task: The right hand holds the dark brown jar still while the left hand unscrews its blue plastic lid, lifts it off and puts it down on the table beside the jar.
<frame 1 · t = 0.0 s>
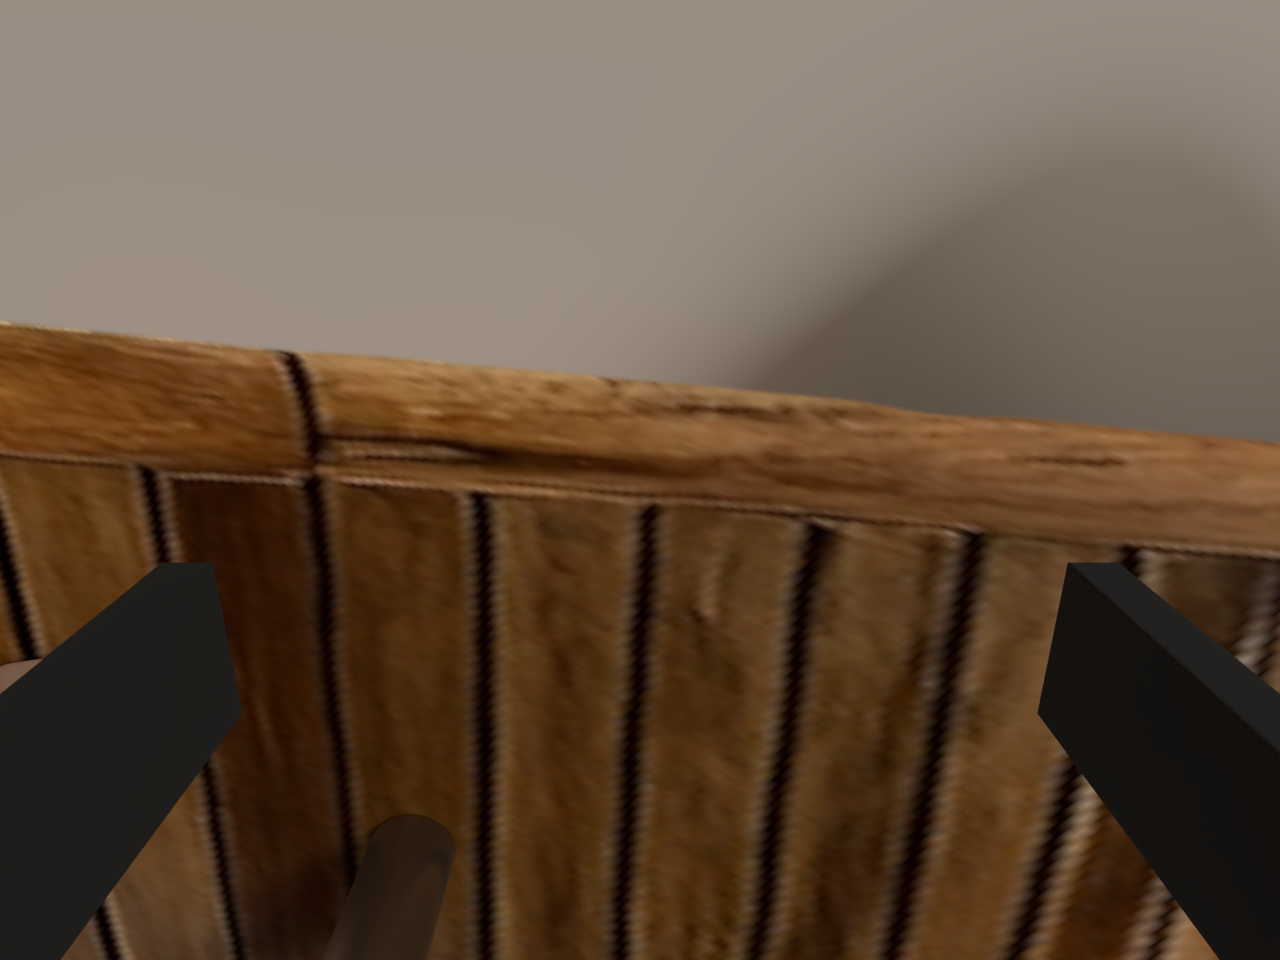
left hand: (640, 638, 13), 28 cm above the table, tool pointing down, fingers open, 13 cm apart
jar: (413, 848, 50), on the table
anatomical model: (59, 745, 47), on the table
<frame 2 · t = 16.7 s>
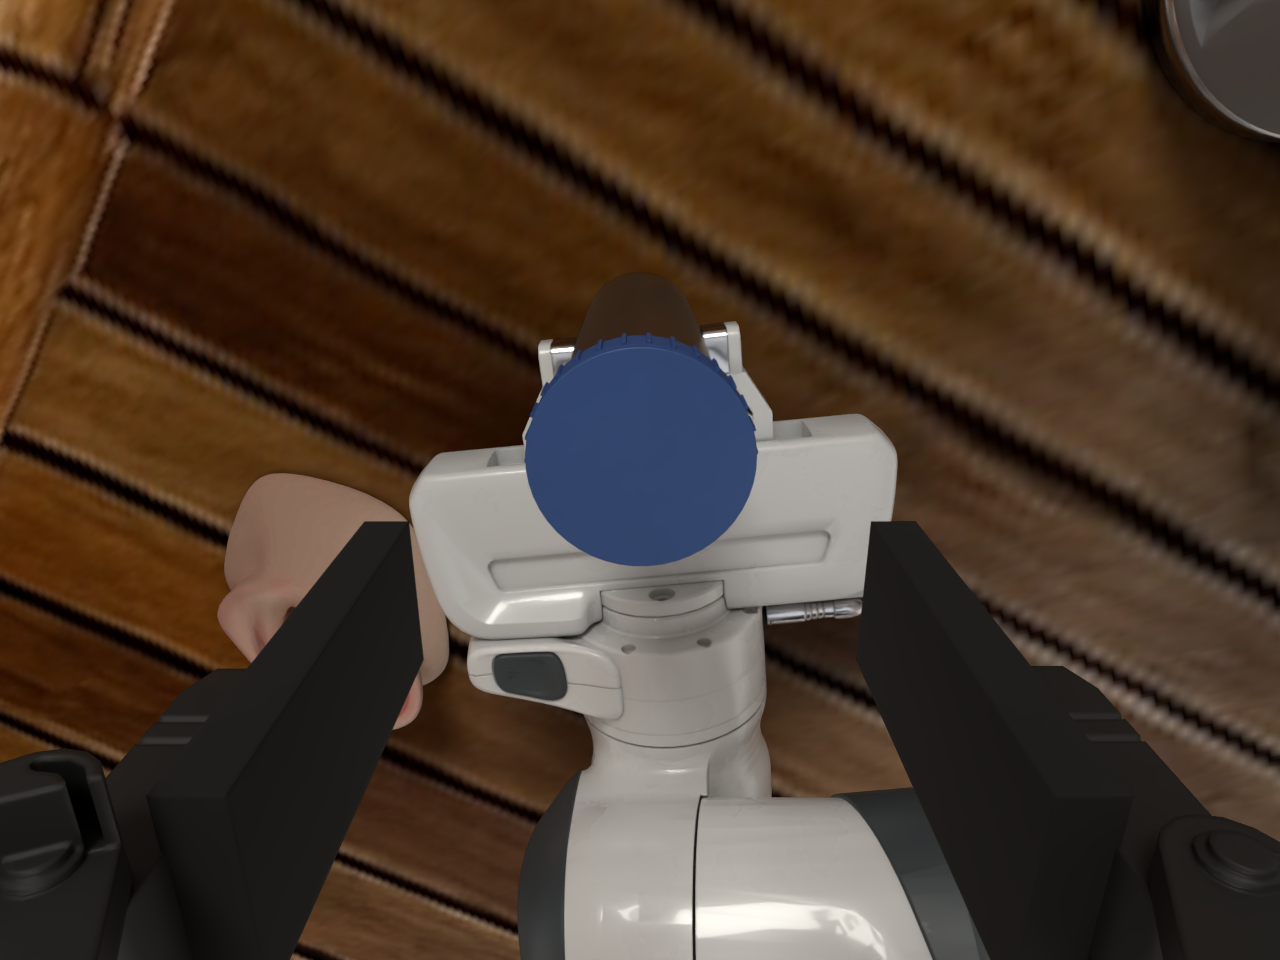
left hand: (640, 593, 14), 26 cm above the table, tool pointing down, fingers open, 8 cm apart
right hand: (636, 332, 33), fingers closed on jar, 5 cm apart
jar: (640, 328, 39), on the table, touching right hand
lid: (641, 457, 21), point 19 cm above the table, screwed on, not yet turned
anatomical model: (339, 588, 44), on the table
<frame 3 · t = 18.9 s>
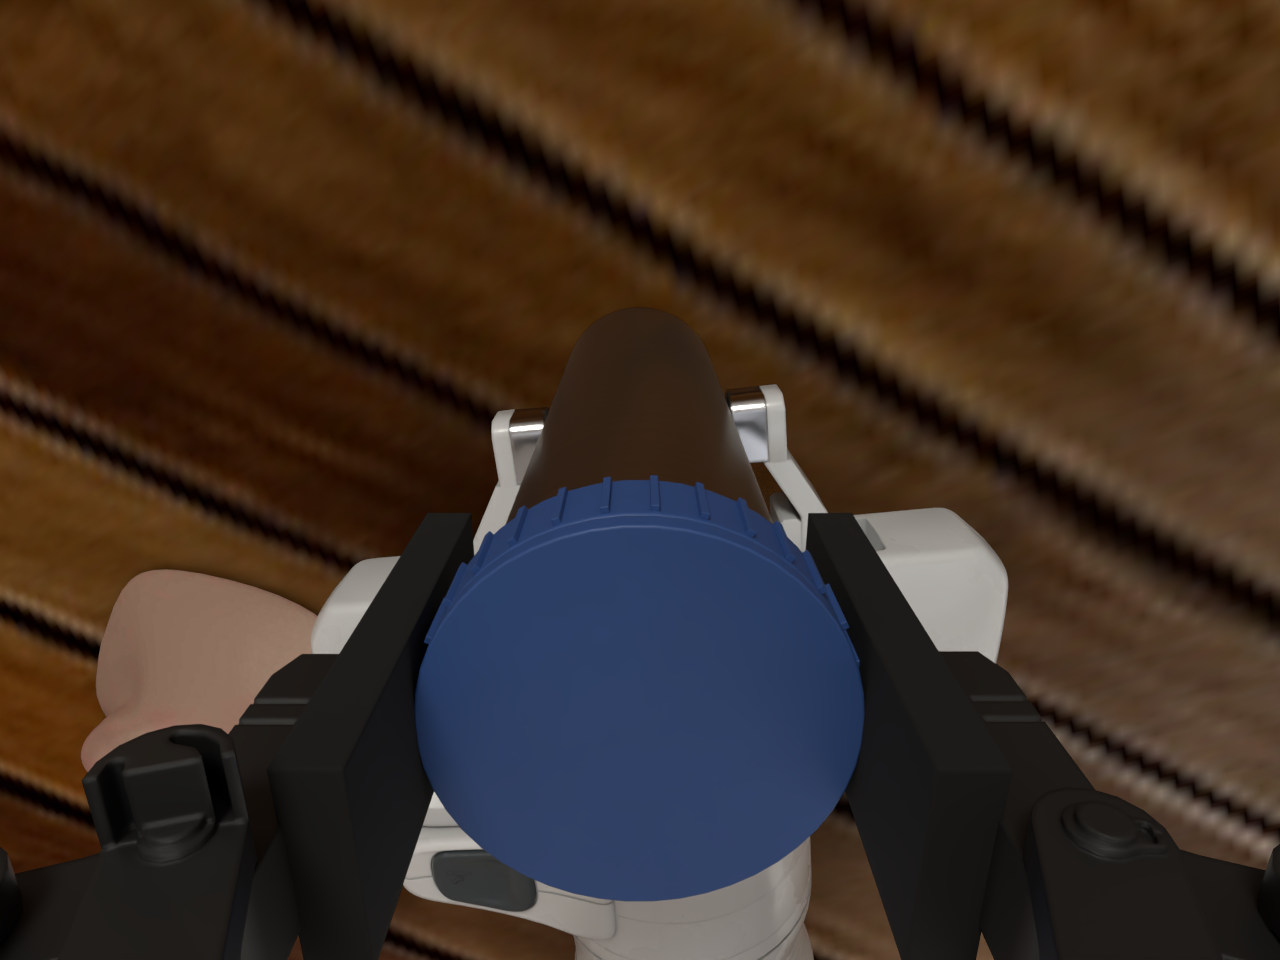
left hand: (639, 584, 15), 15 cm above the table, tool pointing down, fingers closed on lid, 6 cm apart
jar: (639, 381, 29), on the table, touching right hand
lid: (639, 715, 11), point 19 cm above the table, screwed on, not yet turned, touching left hand
anatomical model: (248, 711, 34), on the table
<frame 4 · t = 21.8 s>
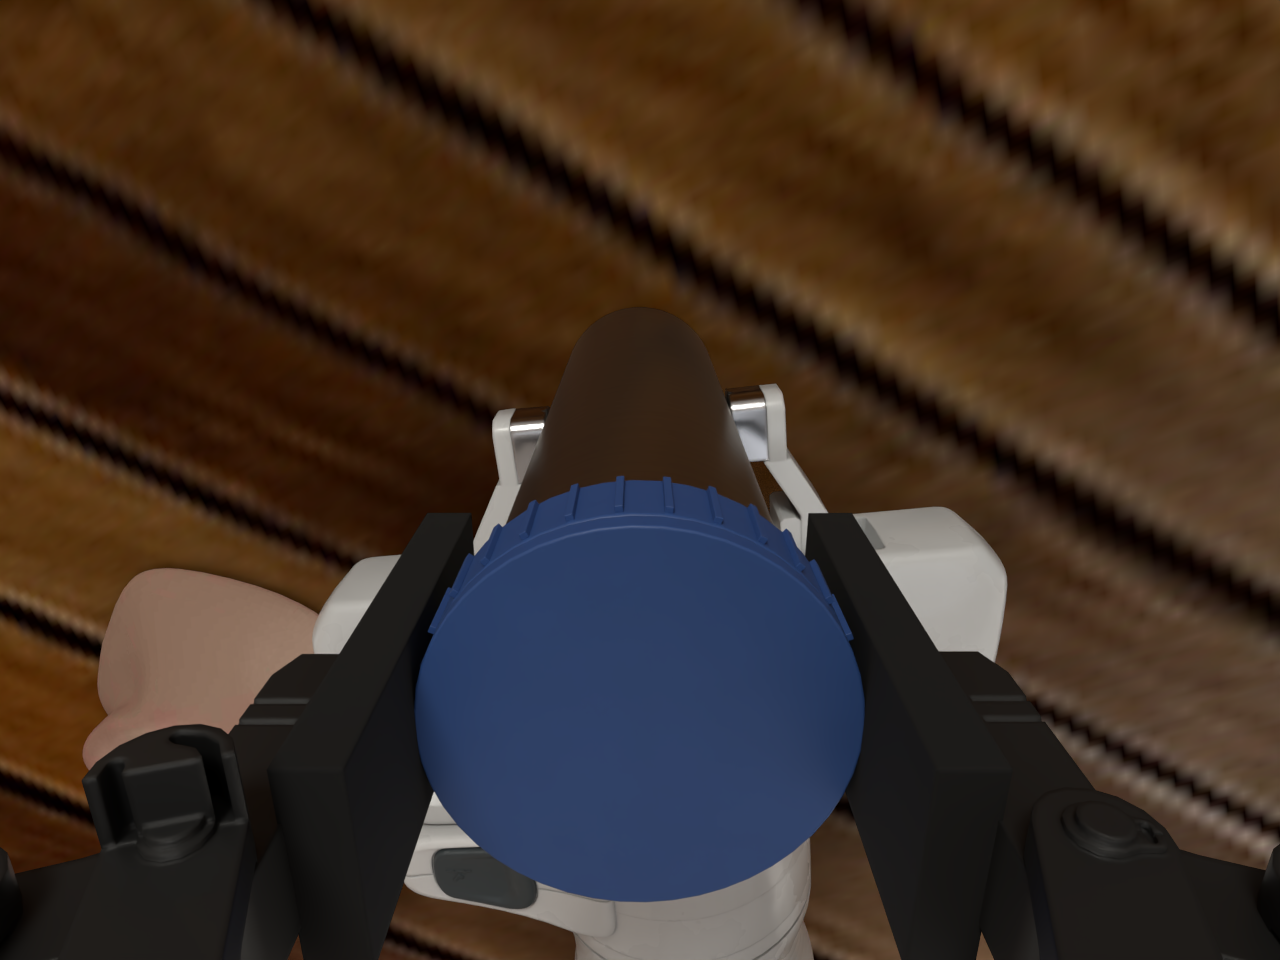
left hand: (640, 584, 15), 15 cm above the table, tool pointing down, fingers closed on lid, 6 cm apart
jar: (639, 380, 29), on the table, touching right hand
lid: (639, 716, 11), point 19 cm above the table, turned 81° so far, risen 0.1 cm, still on its thread, touching left hand
anatomical model: (249, 710, 34), on the table
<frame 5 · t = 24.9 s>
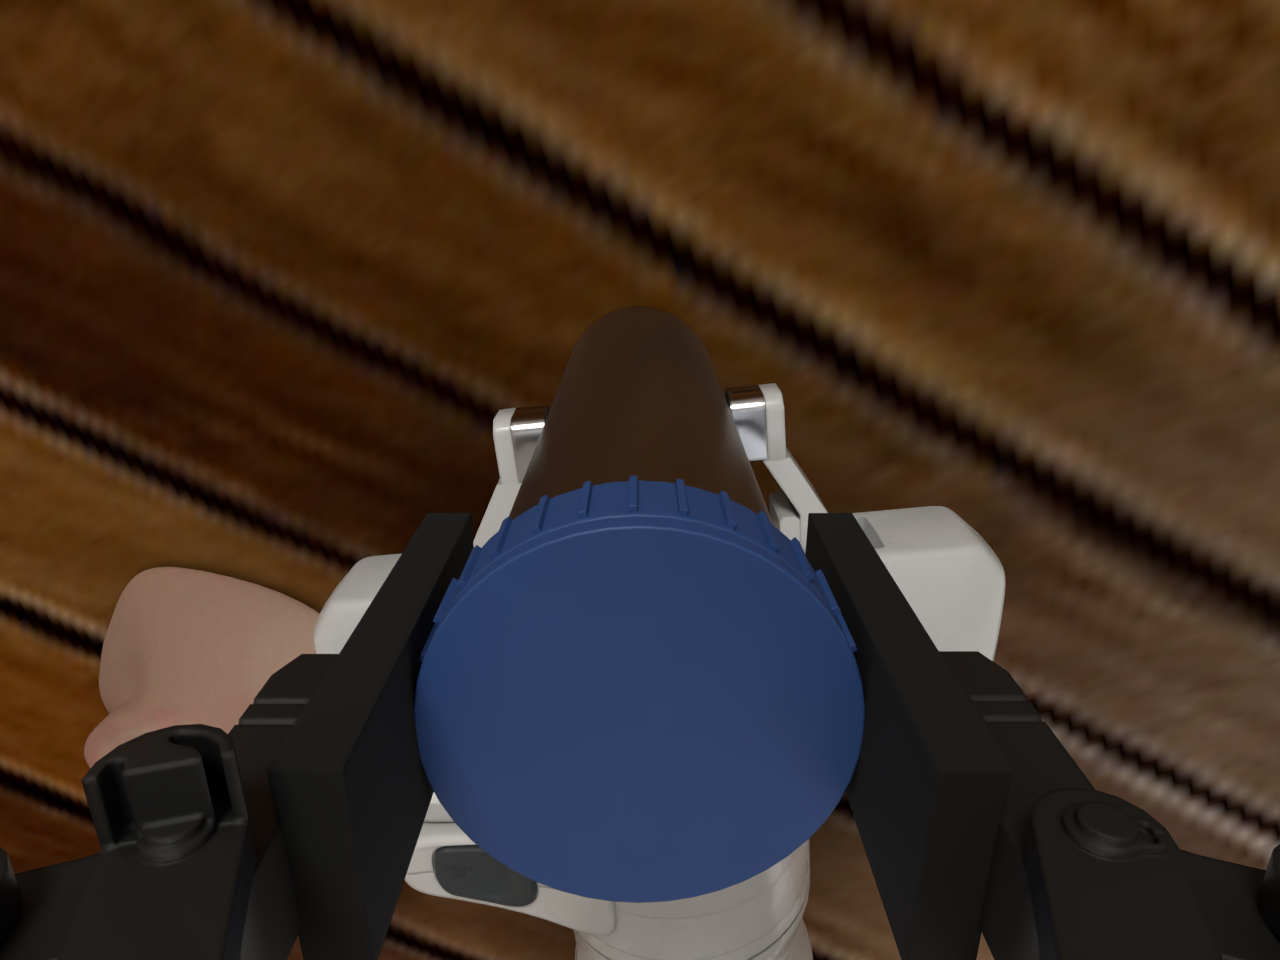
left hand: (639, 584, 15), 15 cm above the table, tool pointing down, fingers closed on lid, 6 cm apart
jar: (639, 380, 29), on the table, touching right hand
lid: (639, 716, 11), point 19 cm above the table, turned 161° so far, risen 0.2 cm, still on its thread, touching left hand
anatomical model: (250, 708, 34), on the table
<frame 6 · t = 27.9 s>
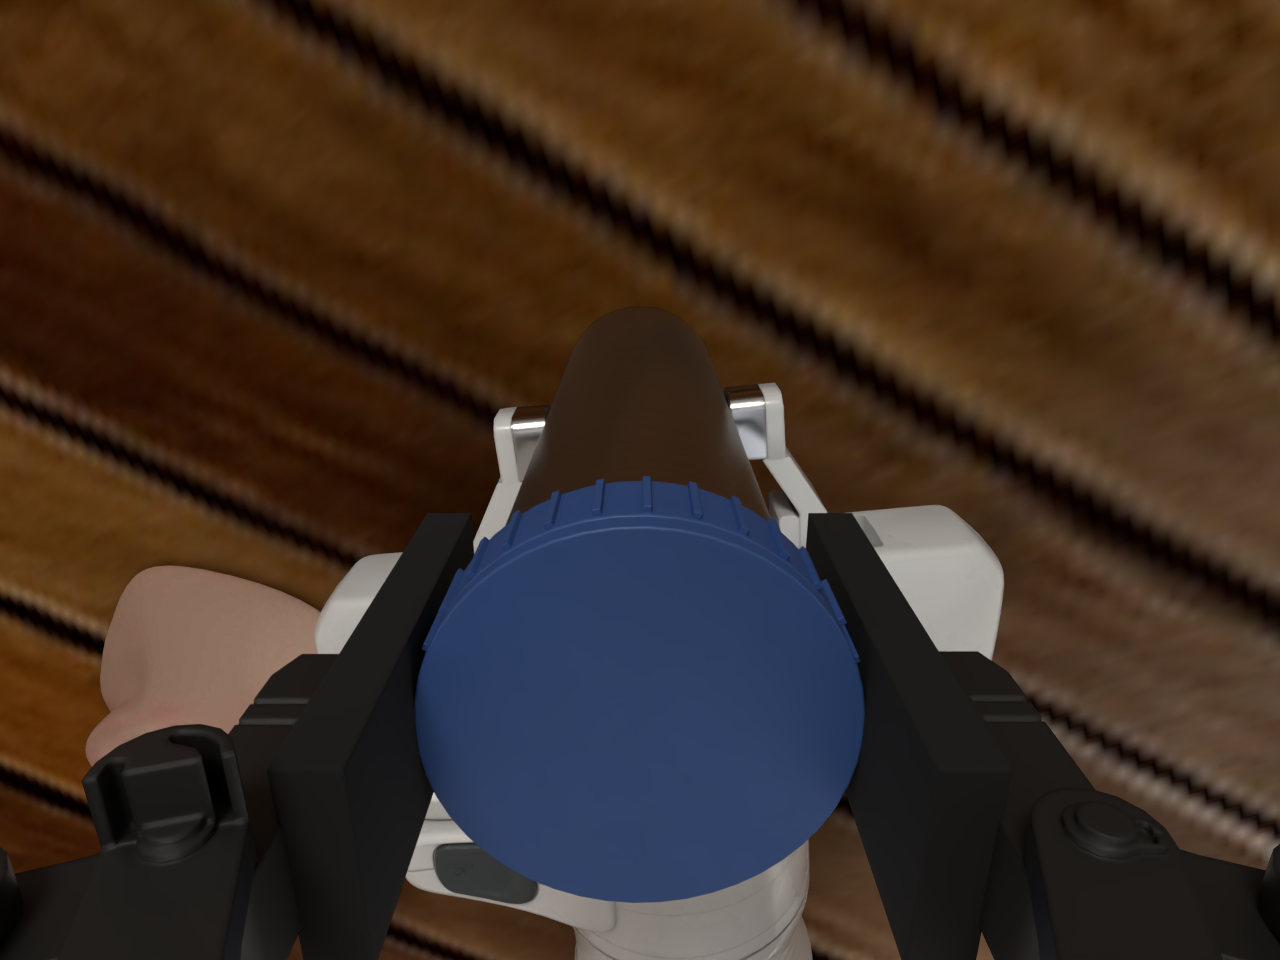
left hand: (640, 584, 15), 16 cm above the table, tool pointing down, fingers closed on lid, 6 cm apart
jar: (639, 379, 29), on the table, touching right hand
lid: (639, 716, 11), point 19 cm above the table, turned 242° so far, risen 0.3 cm, still on its thread, touching left hand
anatomical model: (251, 706, 34), on the table
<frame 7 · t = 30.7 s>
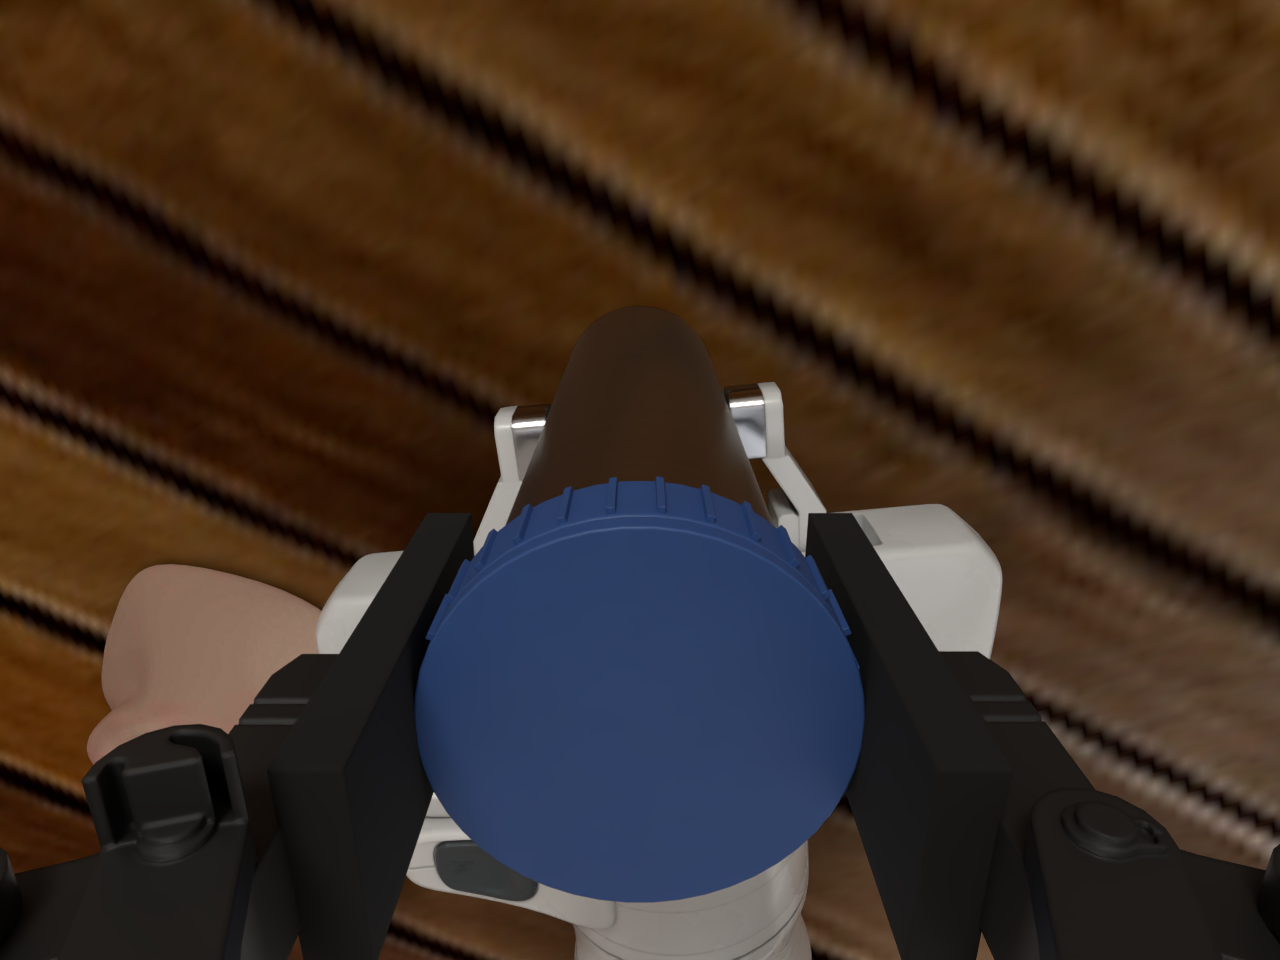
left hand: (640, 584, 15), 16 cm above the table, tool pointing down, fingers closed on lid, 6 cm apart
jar: (639, 379, 29), on the table, touching right hand
lid: (639, 716, 11), point 19 cm above the table, turned 323° so far, risen 0.4 cm, still on its thread, touching left hand
anatomical model: (252, 705, 34), on the table
when the left hand's fingers open (0 cm above the table, at t = 40.8 s): lid drops 3 cm, point 1 cm above the table.
when the right hand's fingers open (6 cm above the table, at t = 41.5 s): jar stays where it is, on the table.
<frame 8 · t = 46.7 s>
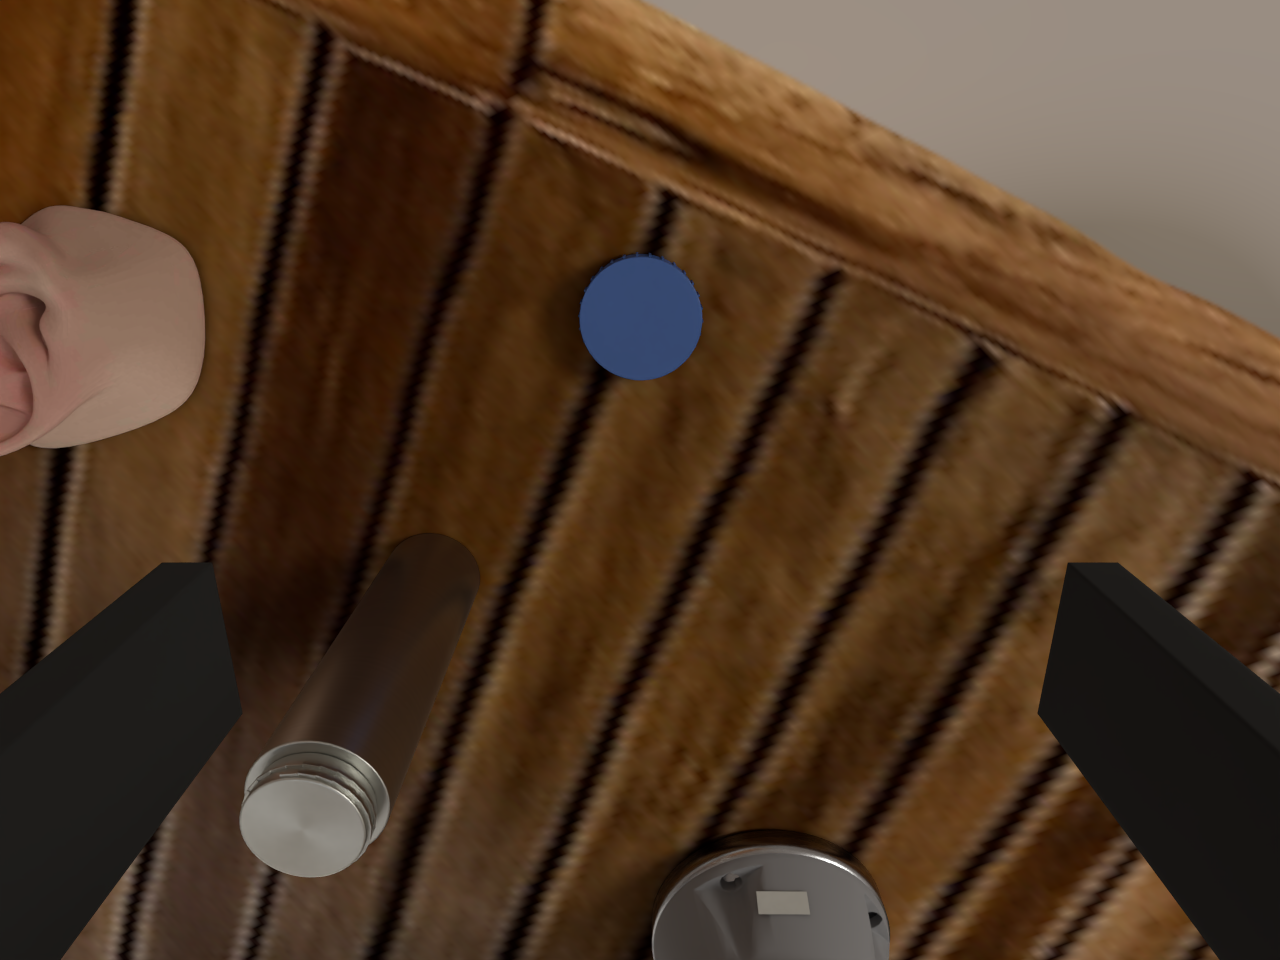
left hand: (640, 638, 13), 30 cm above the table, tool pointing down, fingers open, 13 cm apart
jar: (433, 575, 46), on the table
lid: (640, 319, 39), point 1 cm above the table, off its thread
anatomical model: (85, 328, 41), on the table
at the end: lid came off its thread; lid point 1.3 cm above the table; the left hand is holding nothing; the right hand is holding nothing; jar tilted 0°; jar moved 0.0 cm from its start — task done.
